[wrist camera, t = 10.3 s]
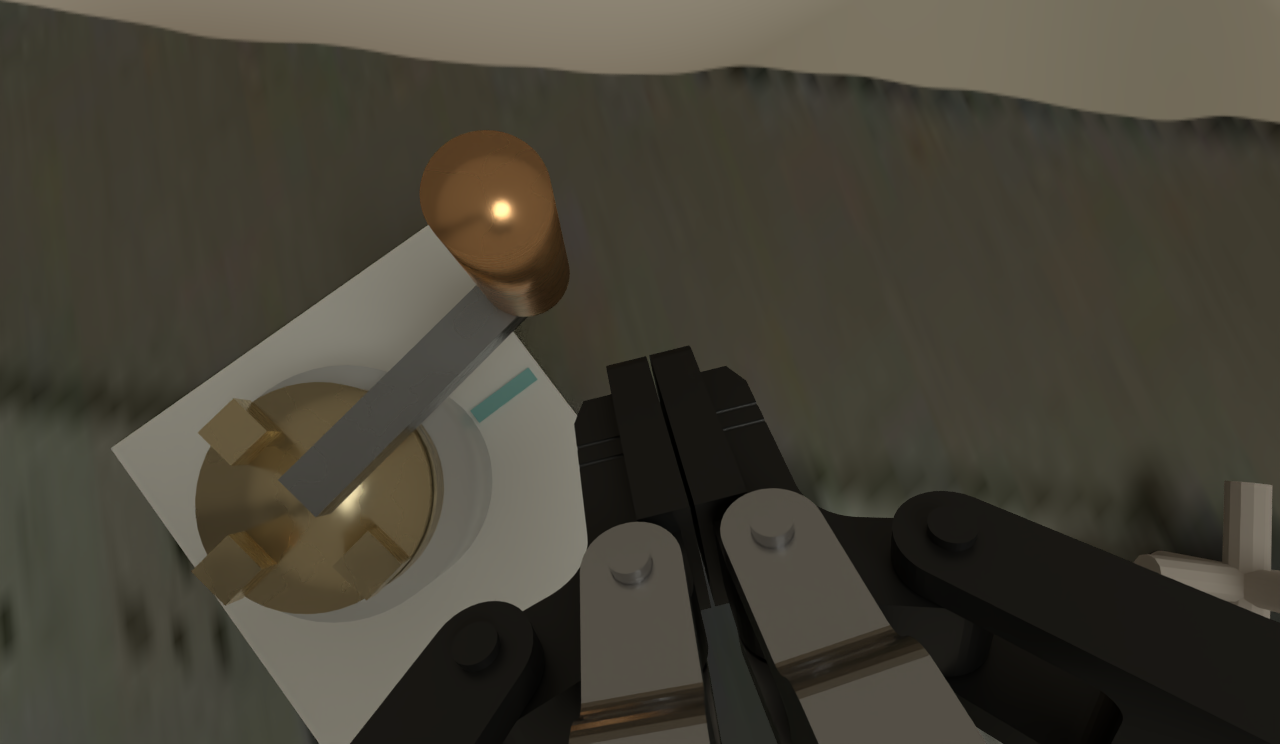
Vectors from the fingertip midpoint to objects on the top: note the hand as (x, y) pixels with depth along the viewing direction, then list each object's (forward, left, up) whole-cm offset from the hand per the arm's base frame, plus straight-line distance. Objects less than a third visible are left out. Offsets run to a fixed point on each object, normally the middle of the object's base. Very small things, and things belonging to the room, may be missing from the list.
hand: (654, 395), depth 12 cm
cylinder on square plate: (-12, +5, -26) cm, 29 cm away
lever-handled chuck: (-7, +6, -18) cm, 20 cm away
